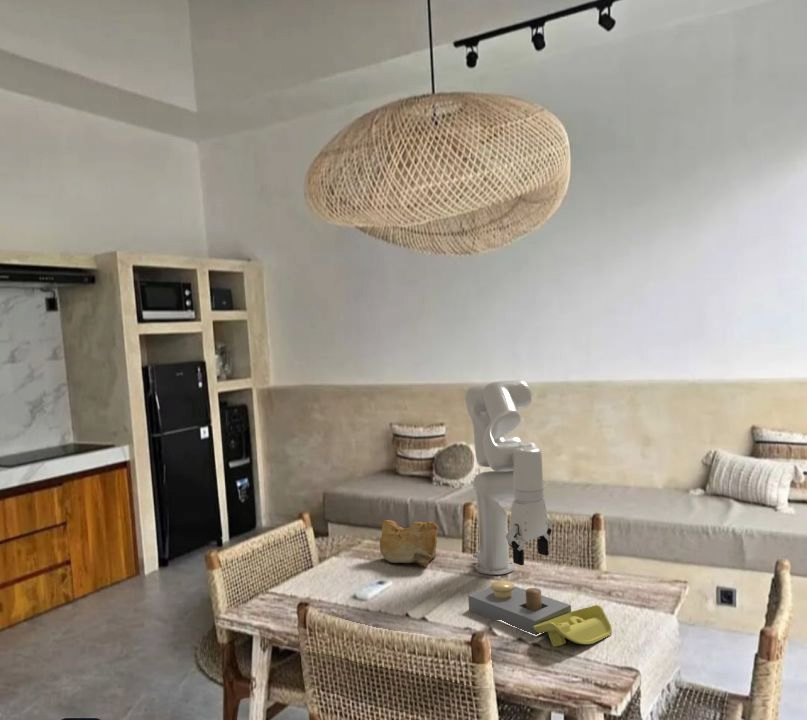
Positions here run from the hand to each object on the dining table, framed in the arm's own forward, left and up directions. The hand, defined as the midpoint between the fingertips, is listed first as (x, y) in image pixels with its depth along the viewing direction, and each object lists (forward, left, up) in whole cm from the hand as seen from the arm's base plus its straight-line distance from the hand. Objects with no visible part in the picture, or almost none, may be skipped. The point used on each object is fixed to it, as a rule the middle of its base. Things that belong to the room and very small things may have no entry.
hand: (531, 559), depth 176 cm
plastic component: (+13, -2, -17) cm, 21 cm away
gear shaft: (0, 0, -16) cm, 16 cm away
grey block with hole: (-5, 0, -16) cm, 17 cm away
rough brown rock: (-60, +10, -17) cm, 63 cm away
